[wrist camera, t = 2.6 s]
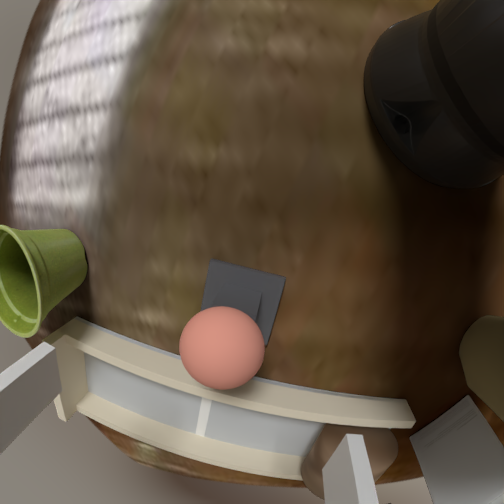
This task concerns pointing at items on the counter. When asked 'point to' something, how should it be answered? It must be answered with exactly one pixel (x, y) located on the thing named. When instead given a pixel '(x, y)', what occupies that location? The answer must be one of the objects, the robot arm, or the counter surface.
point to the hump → (375, 438)
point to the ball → (222, 347)
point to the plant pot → (37, 275)
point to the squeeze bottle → (485, 361)
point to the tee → (244, 292)
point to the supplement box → (461, 457)
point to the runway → (202, 404)
